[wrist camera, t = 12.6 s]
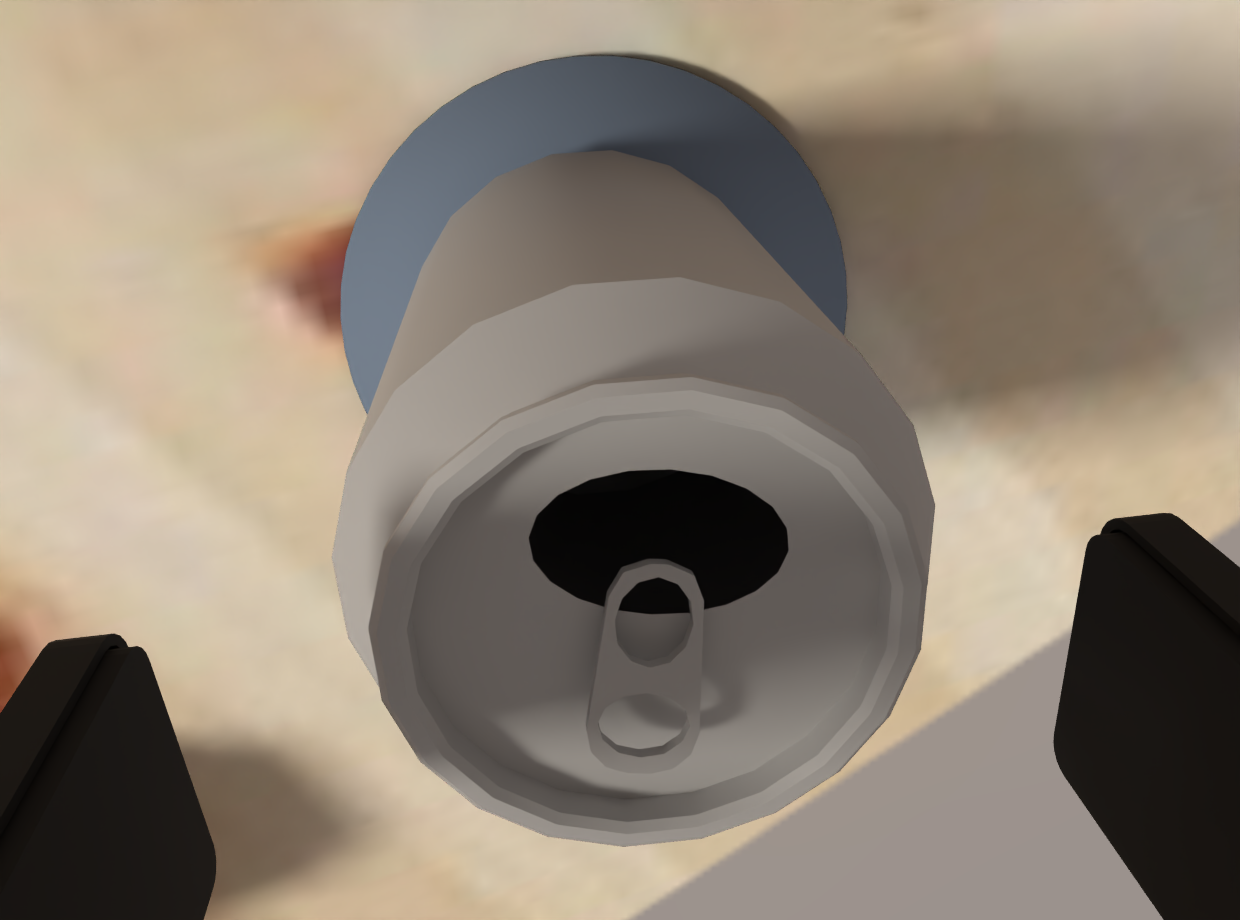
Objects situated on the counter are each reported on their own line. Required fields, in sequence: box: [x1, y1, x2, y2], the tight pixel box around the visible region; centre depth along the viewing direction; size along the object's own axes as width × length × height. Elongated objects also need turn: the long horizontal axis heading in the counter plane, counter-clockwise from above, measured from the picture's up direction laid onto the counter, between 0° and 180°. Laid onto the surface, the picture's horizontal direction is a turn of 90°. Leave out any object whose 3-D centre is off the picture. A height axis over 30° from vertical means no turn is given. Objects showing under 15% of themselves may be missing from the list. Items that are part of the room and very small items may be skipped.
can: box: [332, 150, 935, 847], centre depth 16 cm, size 8×8×12 cm
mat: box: [341, 55, 847, 414], centre depth 22 cm, size 11×11×1 cm
